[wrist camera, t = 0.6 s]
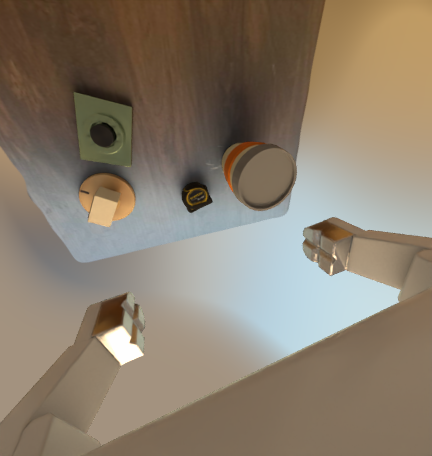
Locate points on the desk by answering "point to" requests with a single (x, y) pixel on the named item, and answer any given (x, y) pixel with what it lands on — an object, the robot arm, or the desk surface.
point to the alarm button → (102, 135)
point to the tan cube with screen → (104, 206)
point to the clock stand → (112, 183)
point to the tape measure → (195, 196)
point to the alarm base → (111, 116)
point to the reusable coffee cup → (259, 174)
